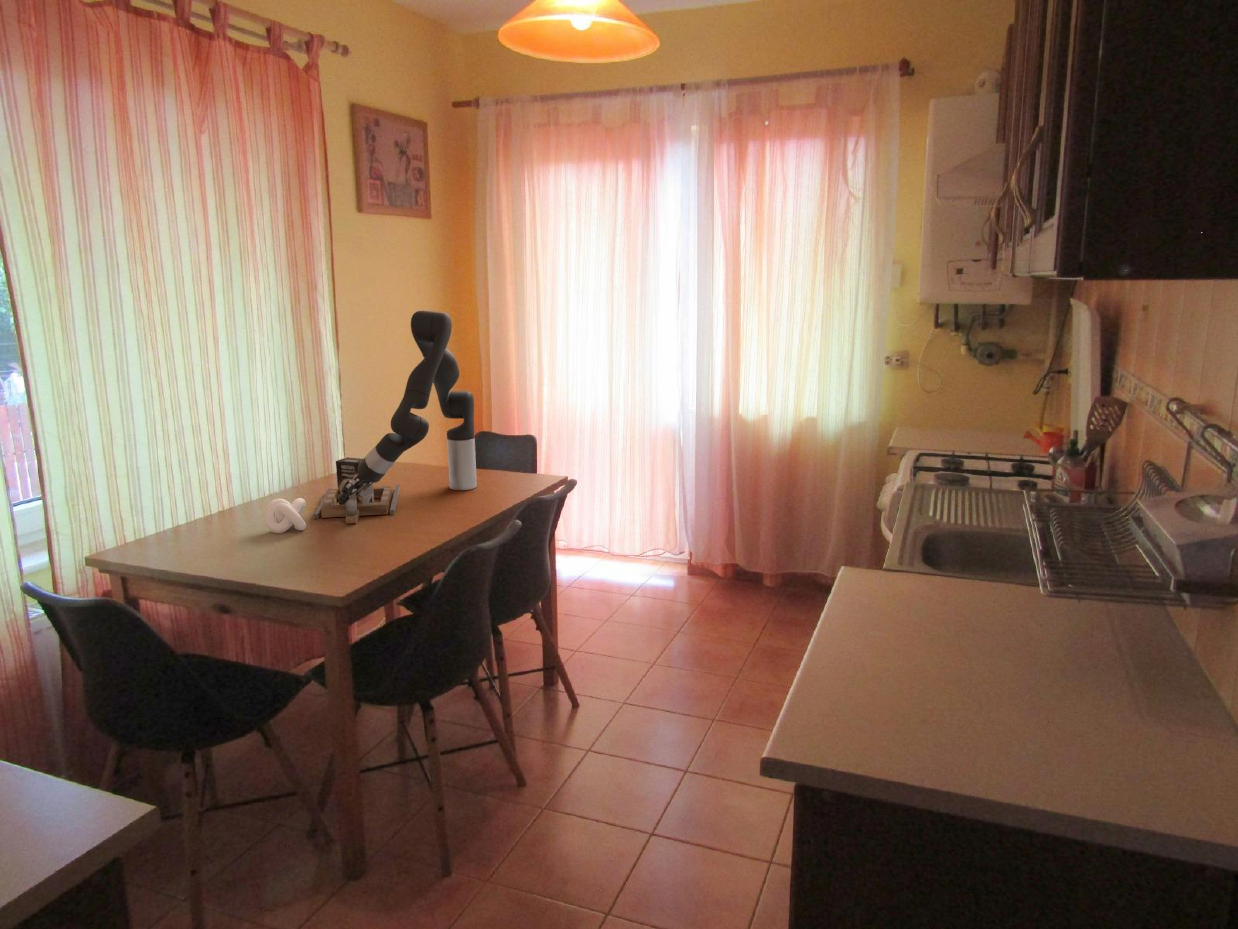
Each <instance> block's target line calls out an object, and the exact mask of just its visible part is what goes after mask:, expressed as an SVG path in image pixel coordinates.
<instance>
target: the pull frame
mask: <svg viewBox="0 0 1238 929" xmlns="http://www.w3.org/2000/svg"><path fill="white" fill-rule="evenodd" d="M346 482H347V481H345V482H344V485H345V483H346ZM350 482H351V481H350ZM330 489H331V491H330V493H329V494H328V496H327V498H326V500H325V502H324V504H323V505H322V507H321V518H322V519H326V518H340V517H341V518H342V517H345V521H346V522H345V523H346V524H347V525H348V524H357V523H358V522H359V518H360V517H362V516H377V515H387V514H388V510H389V508H390V507H389V506H390V503H391V498H392V497H393V495H392V494H393V493H392V485H384V486H373V493H374V499H377V498H380V501H379V502H374V503H362V504H357V499H356V493H354V494H353V495H352V497H350V499H349V500H348V501H347V502H346V503H345V504H343V505H339V504H336V503H337V502H338V501H339V500H338V499H339V498H338V488H330ZM351 493H352V492H351Z"/></svg>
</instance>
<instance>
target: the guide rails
mask: <svg viewBox="0 0 1238 929" xmlns="http://www.w3.org/2000/svg"><path fill="white" fill-rule="evenodd" d="M331 489H332V488H328V489H327V490H326V492H325V493H324V495H323V497H322V499H321V501H320V502H319V505H318V506H317V508H316V510H315V512H313V513H314V514H313V520H319V519H320V517H321V515H322V514H321V507H322V505H323V504H324V502H325V500H326V498H327V496H328V494H329V493H330V491H331ZM399 490H401V486H400V484H398V485H395V488H394V492H393V495H392V500H391V502H390V503H391V504H390V507H389V515H390V516H393V514H394V515H395V514H396V513H395V512H396V510H397V503H398V500H399V496H398V495H400V491H399ZM320 514H321V515H320ZM318 518H319V519H318Z"/></svg>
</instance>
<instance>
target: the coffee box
mask: <svg viewBox="0 0 1238 929" xmlns="http://www.w3.org/2000/svg"><path fill="white" fill-rule="evenodd" d="M363 459H364V458H360V457H359V458H358V457H345V458H340V459H337V460H336V461H335V468H336V482H337V484H336V485H337V489H338V498H340V497H341V496H342V494H343V493H342V492H341V491H342V489H343V487H344V482H345V481H352V480H353V478H354V476H355V475H357V474H359V473H358V465H359V464H360V462H361V461H362V460H363ZM373 487H374V483H373V484H372V485H370V486H369V487H368V488H367V489H366V490H365V491H364V490H363V491H362V492H361V493H360V494H358V495H357V496H356V499H357V504H362V503H375V498H374V493H373ZM338 505H342V504H341V503H340V502H339V501H338Z"/></svg>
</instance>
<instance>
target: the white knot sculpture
mask: <svg viewBox="0 0 1238 929" xmlns="http://www.w3.org/2000/svg"><path fill="white" fill-rule="evenodd" d="M306 505H307V503H306V501H305V499H304V498H302V497H298V498H296V499H294V500H293V501H292V502H291V503H290V501H288V500H286V499H283V498H276V499H273V500H271V501H270V502H269V503H268V504H266V507H265V509H264V511H263V512H264V513H263V522H264V525H265V526H266V528H267V529H268V530H269V531H270V532H271V533H274V534H283V533H285V532H287V531H288V530H289V529H291V527H292V526H293V527H294V528H295V530H296V531H299V532H300V531H304V530H305V529H306V528H307V524H306V523H307V522H305V520H304V519H303V517H302V515H303V513H304V511H305V509H306Z"/></svg>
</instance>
